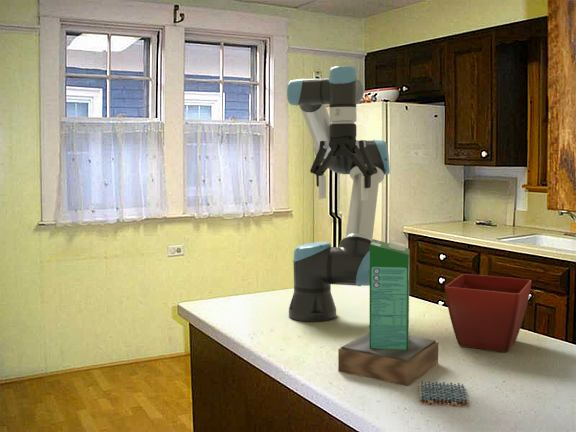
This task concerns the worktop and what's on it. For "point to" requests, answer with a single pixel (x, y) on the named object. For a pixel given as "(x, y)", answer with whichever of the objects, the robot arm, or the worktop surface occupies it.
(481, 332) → the plant pot
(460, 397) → the woven mat
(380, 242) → the milk carton
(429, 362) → the podium
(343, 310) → the worktop surface
